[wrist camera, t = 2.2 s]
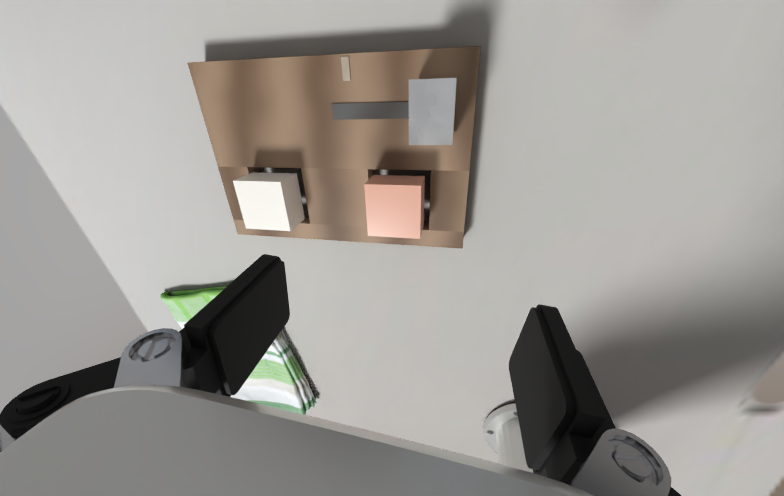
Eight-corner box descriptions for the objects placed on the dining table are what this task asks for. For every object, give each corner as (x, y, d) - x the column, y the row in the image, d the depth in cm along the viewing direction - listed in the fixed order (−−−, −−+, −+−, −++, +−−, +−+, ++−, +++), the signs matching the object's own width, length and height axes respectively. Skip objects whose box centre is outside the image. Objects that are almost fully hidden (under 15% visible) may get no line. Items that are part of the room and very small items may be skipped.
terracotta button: (424, 176, 26) (421, 185, 23) (423, 225, 28) (420, 238, 25) (373, 174, 27) (364, 184, 24) (376, 222, 29) (367, 235, 26)
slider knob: (456, 79, 22) (456, 77, 19) (453, 137, 24) (452, 145, 20) (415, 80, 22) (408, 79, 19) (415, 137, 24) (408, 145, 21)
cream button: (296, 173, 28) (280, 181, 26) (304, 218, 30) (290, 231, 28) (253, 172, 29) (232, 180, 26) (263, 216, 31) (245, 228, 28)
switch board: (479, 49, 23) (481, 45, 21) (462, 239, 30) (462, 249, 28) (204, 64, 27) (186, 62, 25) (248, 226, 35) (237, 234, 33)
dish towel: (235, 396, 53) (221, 415, 50) (164, 289, 43) (141, 304, 40) (321, 398, 48) (312, 419, 45) (263, 278, 39) (246, 294, 36)
